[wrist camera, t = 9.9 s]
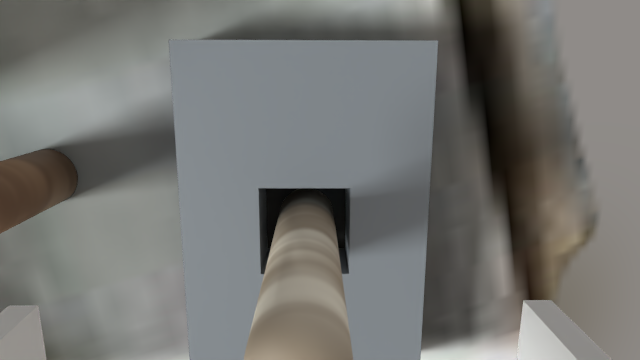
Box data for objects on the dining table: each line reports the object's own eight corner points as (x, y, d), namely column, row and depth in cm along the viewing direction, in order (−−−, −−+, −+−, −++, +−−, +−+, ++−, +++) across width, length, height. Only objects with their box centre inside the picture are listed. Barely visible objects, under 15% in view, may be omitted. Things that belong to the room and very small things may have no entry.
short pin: (18, 149, 26) (-69, 172, 20) (74, 149, 26) (3, 172, 20) (26, 202, 26) (-57, 240, 21) (80, 202, 26) (13, 240, 21)
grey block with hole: (188, 43, 25) (168, 39, 21) (421, 44, 25) (438, 40, 21) (206, 355, 29) (191, 393, 25) (406, 354, 29) (418, 392, 25)
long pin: (280, 187, 26) (242, 312, 13) (334, 188, 26) (355, 314, 13) (279, 238, 27) (244, 410, 13) (332, 239, 27) (351, 412, 13)
